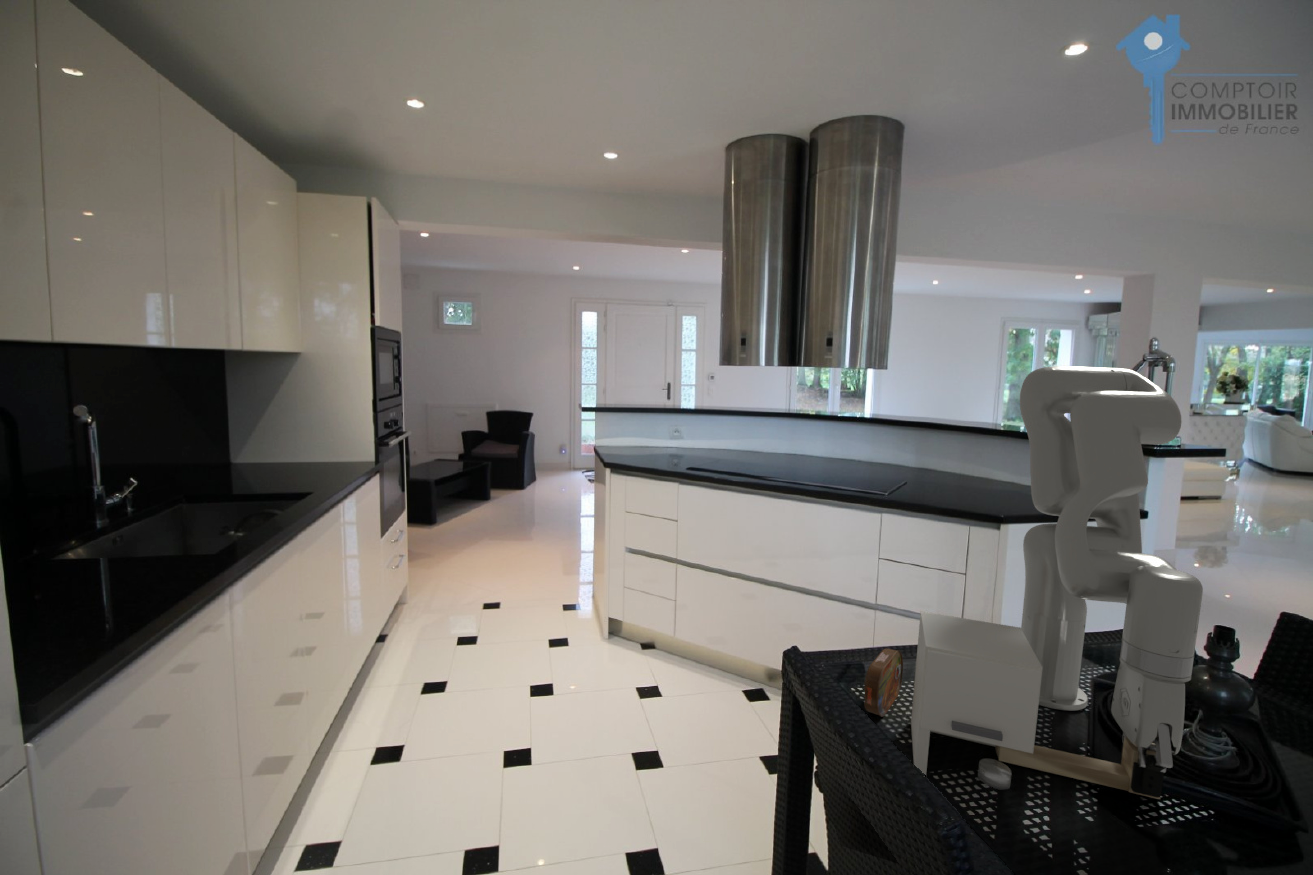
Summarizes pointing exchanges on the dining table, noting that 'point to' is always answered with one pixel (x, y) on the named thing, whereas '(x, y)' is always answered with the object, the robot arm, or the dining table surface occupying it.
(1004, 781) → the puck
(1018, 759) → the wooden l-shaped bar
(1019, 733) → the cabinet
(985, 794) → the dining table surface
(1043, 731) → the dining table surface
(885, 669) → the tin
